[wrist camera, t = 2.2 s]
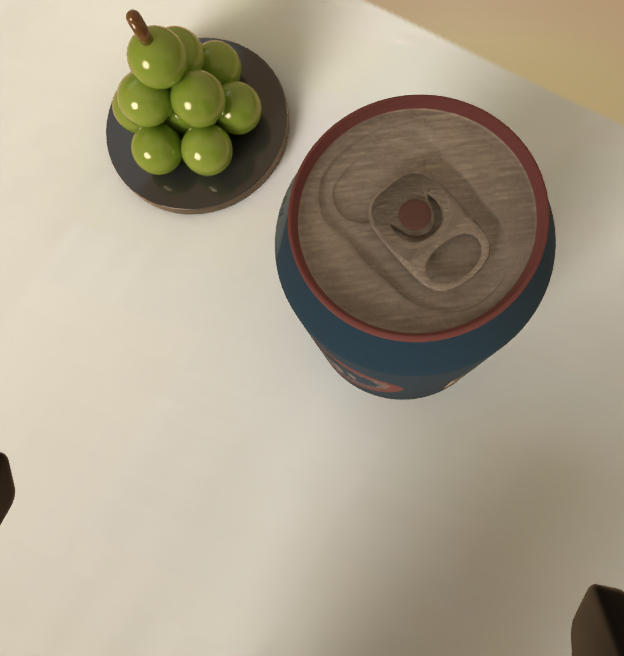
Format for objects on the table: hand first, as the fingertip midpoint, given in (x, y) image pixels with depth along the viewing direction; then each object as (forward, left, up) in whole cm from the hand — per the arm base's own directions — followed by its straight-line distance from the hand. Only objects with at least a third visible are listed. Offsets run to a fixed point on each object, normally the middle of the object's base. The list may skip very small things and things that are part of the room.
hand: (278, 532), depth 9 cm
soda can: (+7, +2, -16) cm, 17 cm away
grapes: (+9, +14, -15) cm, 23 cm away
